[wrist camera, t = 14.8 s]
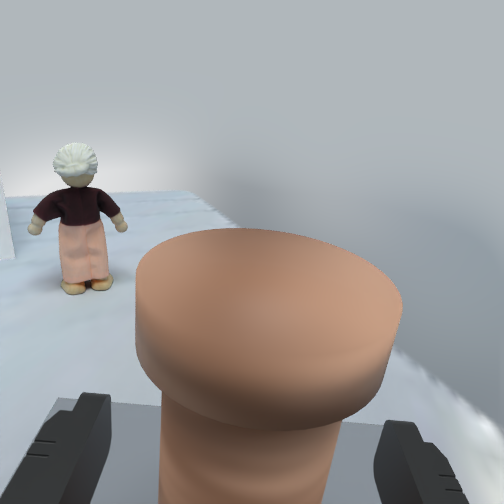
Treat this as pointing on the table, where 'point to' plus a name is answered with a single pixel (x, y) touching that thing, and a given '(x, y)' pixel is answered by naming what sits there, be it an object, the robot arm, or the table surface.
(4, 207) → the milk
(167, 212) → the table surface
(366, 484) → the socket block
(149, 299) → the headed peg
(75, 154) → the grandmother figurine
